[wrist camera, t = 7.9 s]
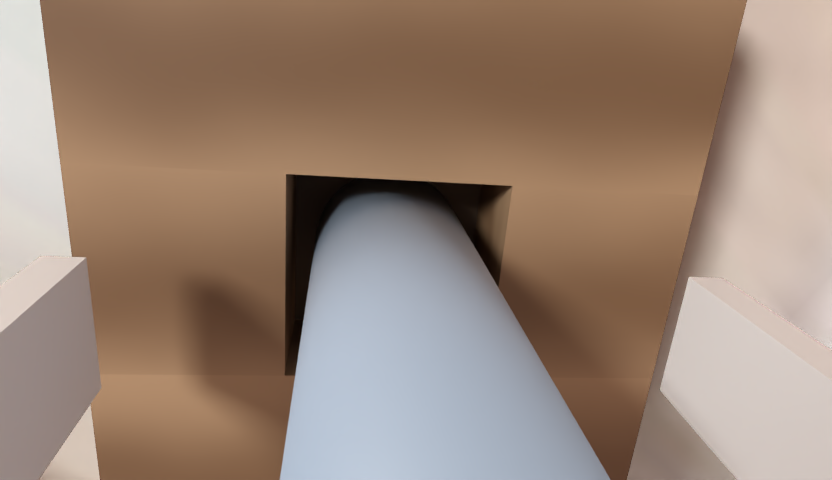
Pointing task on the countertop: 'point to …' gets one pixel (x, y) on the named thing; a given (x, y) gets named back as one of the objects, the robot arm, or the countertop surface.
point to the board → (377, 159)
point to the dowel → (418, 356)
